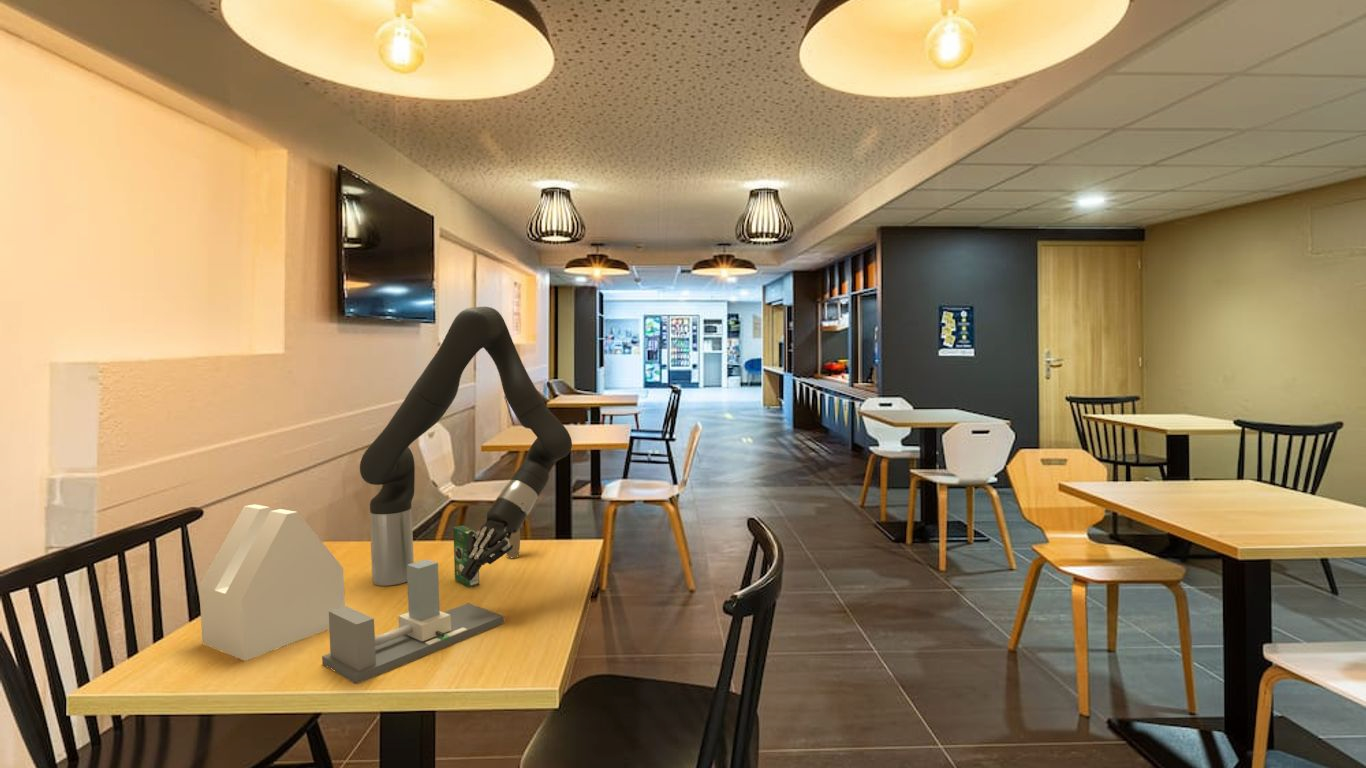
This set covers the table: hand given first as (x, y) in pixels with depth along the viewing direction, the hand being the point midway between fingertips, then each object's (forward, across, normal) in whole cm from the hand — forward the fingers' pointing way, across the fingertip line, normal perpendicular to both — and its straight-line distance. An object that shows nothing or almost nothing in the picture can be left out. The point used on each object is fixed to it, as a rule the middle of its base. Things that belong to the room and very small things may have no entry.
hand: (465, 578), depth 133 cm
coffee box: (-3, -21, +17) cm, 27 cm away
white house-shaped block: (+24, -28, -10) cm, 38 cm away
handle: (-17, -28, +30) cm, 45 cm away
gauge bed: (+14, 0, -1) cm, 14 cm away
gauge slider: (+15, +1, -4) cm, 15 cm away
